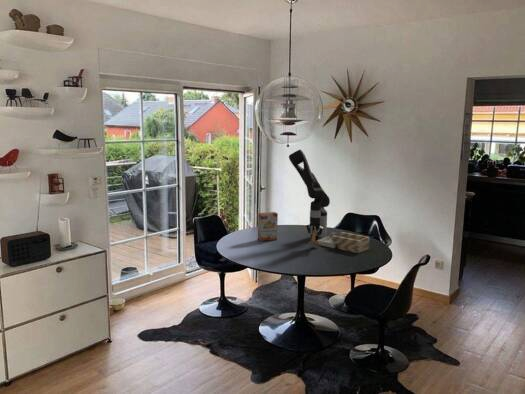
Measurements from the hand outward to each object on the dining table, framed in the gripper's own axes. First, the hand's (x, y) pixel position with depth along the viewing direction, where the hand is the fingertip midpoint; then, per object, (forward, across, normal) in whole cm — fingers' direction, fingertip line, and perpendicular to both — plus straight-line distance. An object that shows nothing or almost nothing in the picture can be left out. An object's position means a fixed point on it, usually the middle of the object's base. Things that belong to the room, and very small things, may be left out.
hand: (314, 239), depth 320 cm
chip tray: (+6, +4, +17) cm, 18 cm away
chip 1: (-1, +6, +17) cm, 18 cm away
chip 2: (+3, +5, +17) cm, 18 cm away
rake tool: (+4, 0, -1) cm, 4 cm away
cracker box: (+6, -39, -5) cm, 40 cm away
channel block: (+6, +19, +17) cm, 26 cm away
